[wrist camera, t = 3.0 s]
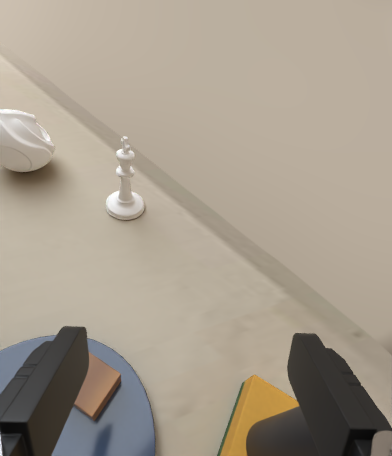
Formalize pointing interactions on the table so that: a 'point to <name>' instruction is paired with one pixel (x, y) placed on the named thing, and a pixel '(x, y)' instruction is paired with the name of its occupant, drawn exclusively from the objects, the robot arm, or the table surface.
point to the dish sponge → (266, 424)
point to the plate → (109, 416)
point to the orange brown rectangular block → (97, 387)
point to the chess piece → (125, 188)
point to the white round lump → (23, 142)
